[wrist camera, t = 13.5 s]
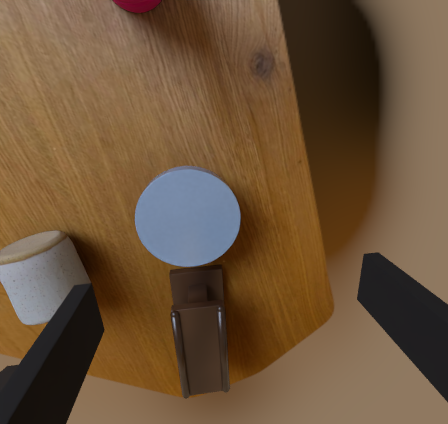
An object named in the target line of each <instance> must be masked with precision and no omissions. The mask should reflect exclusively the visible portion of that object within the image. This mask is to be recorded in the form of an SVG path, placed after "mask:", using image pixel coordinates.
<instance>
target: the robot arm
mask: <svg viewBox="0 0 448 424" xmlns="http://www.w3.org/2000/svg"><path fill="white" fill-rule="evenodd" d="M357 300H358V301H359V302H360V303H361V304H362V305H363V307H364V308H365V309H366V310H367V311H368V312H369V313H370V315H372V317H373V318H374V319H375V320H376V321H377V322H378V323H379V325H380V326H381V327H382V328H383V329H384V330H385V332H386V333H387V334H388V335H389V336H390V337H391V338H392V339H393V341H394V342H395V343H396V344H397V345H398V346H399V347H400V349H401V350H402V351H403V352H404V353H405V354H406V355H407V357H409V359H410V360H411V361H412V362H413V363H414V364H415V365H416V367H417V368H418V369H419V370H420V371H421V372H422V374H423V375H424V376H425V377H426V378H427V379H428V380H429V381H430V383H431V384H432V385H433V386H434V387H435V388H436V389H437V390H438V392H439V393H440V394H441V395H442V396H443V397H444V398H445V400H446V401H447V402H448V304H446V303H445V302H443V301H442V300H441V299H440V298H438V297H437V296H436V295H434V294H433V293H431V292H430V291H429V290H428V289H426V288H425V287H424V286H422V285H421V284H420V283H418V282H417V281H416V280H414V279H413V278H412V277H410V276H409V275H408V274H406V273H405V272H404V271H402V270H401V269H400V268H398V267H397V266H396V265H394V264H393V263H392V262H390V261H389V260H388V259H386V258H385V257H384V256H382V255H381V254H380V253H369V254H364V256H363V263H362V269H361V276H360V283H359V289H358V297H357ZM103 333H104V326H103V322H102V319H101V315H100V312H99V308H98V304H97V301H96V297H95V293H94V290H93V286H92V283H89V284H80V285H74V286H73V288H72V289H71V291H70V292H69V293H68V295H67V296H66V298H65V299H64V301H63V302H62V304H61V305H60V306H59V308H58V309H57V311H56V312H55V314H54V315H53V316H52V318H51V319H50V321H49V322H48V324H47V325H46V327H45V328H44V329H43V331H42V332H41V334H40V335H39V337H38V338H37V339H36V341H35V342H34V344H33V345H32V347H31V348H30V349H29V351H28V352H27V354H26V355H25V357H24V358H23V360H22V361H21V362H20V364H19V365H14V366H7V367H6V368H5V369H3V370H2V371H1V372H0V424H66V423H67V420H68V418H69V415H70V413H71V410H72V408H73V406H74V403H75V401H76V398H77V396H78V393H79V391H80V388H81V386H82V383H83V381H84V379H85V376H86V374H87V371H88V369H89V367H90V364H91V362H92V359H93V357H94V354H95V352H96V350H97V347H98V345H99V342H100V340H101V337H102V335H103Z"/></svg>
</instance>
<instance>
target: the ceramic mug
mask: <svg viewBox="0 0 448 424" xmlns="http://www.w3.org/2000/svg"><path fill="white" fill-rule="evenodd" d="M0 281H1V283H2V284H3V286H4V288H5V290H6V292H7V294H8V296H9V299H10V301H11V303H12V305H13V307H14V309H15V311H16V313H17V315H18V317H19V319H20V320H21V322H22V323H24V324H27V325H37V324H42V323H46V322H49V321H50V319H51V318H52V316H53V315H54V314H55V312H56V311H57V309H58V308H59V306H60V305H61V304H62V302H63V301H64V299H65V298H66V296H67V295H68V293H69V292H70V291H71V289H72V288H73V286H74V285H80V284H89V283H91V281H90V279H89V277H88V275H87V273H86V271H85V268H84V266H83V264H82V262H81V260H80V258H79V256H78V254H77V251H76V249H75V247H74V245H73V242H72V241H71V240H70V238H69V237H68V236H67V234H65V233H64V232H62V231H56V230H54V231H47V232H43V233H39V234H35V235H32V236H29V237H26V238H24V239H21V240H19V241H16V242H14V243H12V244H10V245H8V246H6V247H5V248H3V249H2V250H0Z"/></svg>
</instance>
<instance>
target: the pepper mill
mask: <svg viewBox="0 0 448 424" xmlns="http://www.w3.org/2000/svg"><path fill="white" fill-rule="evenodd" d="M113 1H114V2H115V3H116V4H117V5H119V6H120V7H121V8H123V9H125V10H127V11H131V12H136V13H142V12H147V11H149V10H152V9H153V8H155V7H156V6H157V5H158V4H159V3H160V2H161V0H113Z"/></svg>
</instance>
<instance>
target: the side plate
mask: <svg viewBox="0 0 448 424" xmlns="http://www.w3.org/2000/svg"><path fill="white" fill-rule="evenodd" d="M240 220H241V215H240V208H239V204H238V202H237V199H236V197H235V195H234V193H233V192H232V190H231V188H230V187H229V185H228V184H227V183H226V182H225V181H224V180H223V179H222V178H221V177H220V176H218V175H217V174H215V173H213V172H212V171H209V170H207V169H204V168H201V167H195V166H180V167H175V168H172V169H169V170H166V171H164V172H162V173H161V174H159V175H158V176H156V177H155V178H154V179H153V180H152V181H151V182H150V183H149V184H148V185H147V187H146V188H145V190H144V191H143V193H142V195H141V197H140V199H139V201H138V204H137V206H136V212H135V225H136V229H137V233H138V235H139V238H140V240H141V241H142V243H143V245H144V246H145V247H146V248H147V249H148V250H149V251H150V252H151V253H152V254H153V255H154V256H155V257H157V258H159V259H160V260H162V261H164V262H166V263H169V264H172V265H176V266H184V267H191V266H199V265H203V264H207V263H209V262H211V261H213V260H215V259H217V258H219V257H220V256H221V255H223V254H224V253H225V252H226V251H227V250H228V249H229V248H230V247H231V245H232V244H233V242H234V241H235V239H236V237H237V234H238V231H239V228H240Z"/></svg>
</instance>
